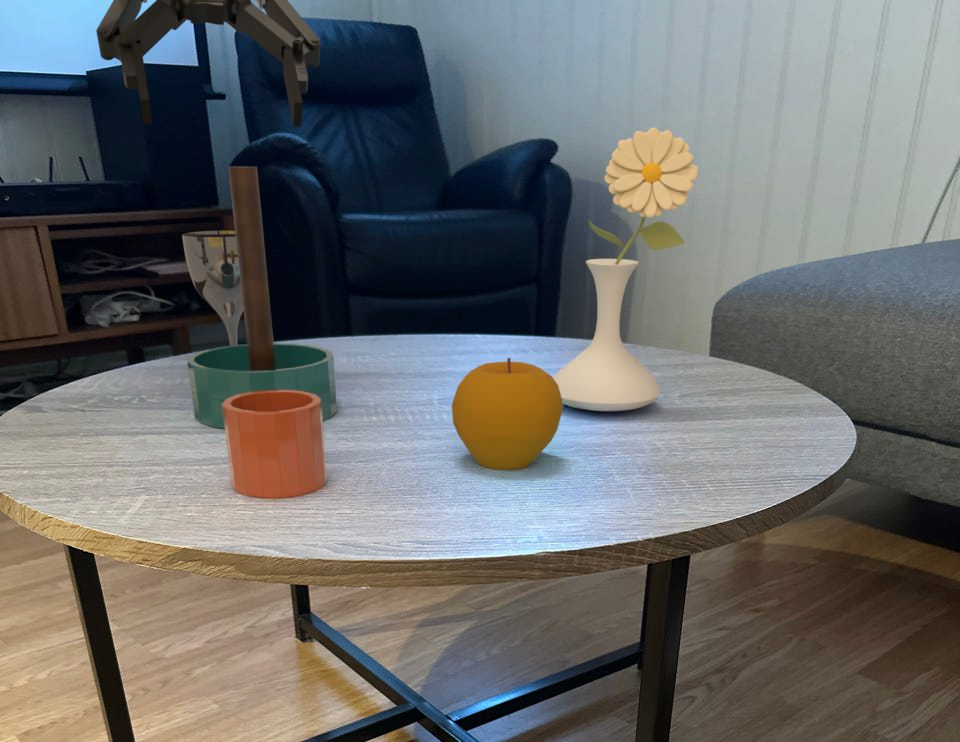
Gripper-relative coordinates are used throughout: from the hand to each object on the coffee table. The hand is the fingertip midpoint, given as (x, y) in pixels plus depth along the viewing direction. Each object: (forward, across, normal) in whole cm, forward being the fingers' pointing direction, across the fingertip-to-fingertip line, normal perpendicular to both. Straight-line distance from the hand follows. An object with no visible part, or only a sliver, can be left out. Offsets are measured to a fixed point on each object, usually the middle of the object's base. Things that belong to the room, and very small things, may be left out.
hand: (223, 114), depth 86 cm
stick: (+25, 0, -11) cm, 27 cm away
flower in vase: (+29, -34, -8) cm, 45 cm away
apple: (+41, -17, +4) cm, 44 cm away
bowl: (+25, 0, -11) cm, 28 cm away
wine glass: (+11, +1, -26) cm, 28 cm away
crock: (+41, +1, +4) cm, 41 cm away
